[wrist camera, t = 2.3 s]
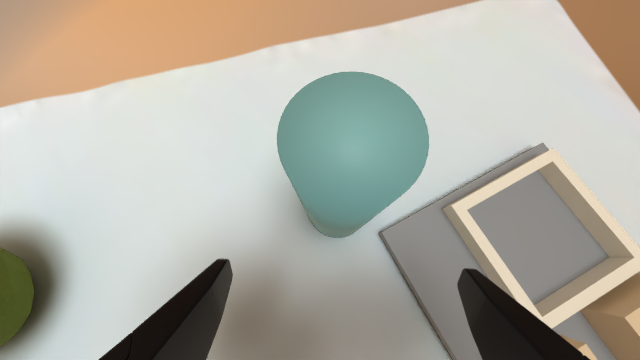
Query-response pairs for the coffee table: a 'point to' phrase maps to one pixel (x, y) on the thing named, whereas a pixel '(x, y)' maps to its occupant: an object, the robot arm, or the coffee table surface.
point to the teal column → (351, 148)
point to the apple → (13, 294)
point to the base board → (526, 256)
